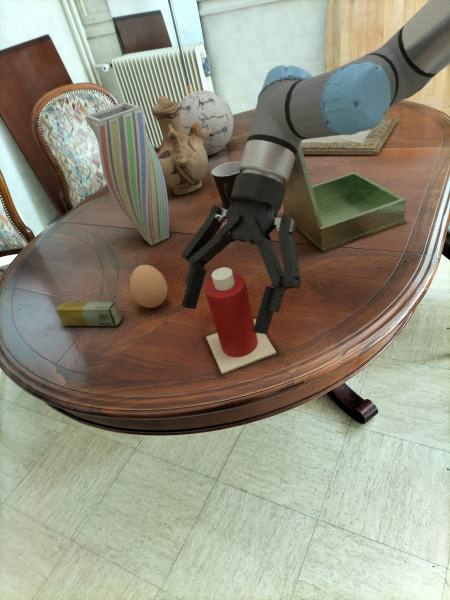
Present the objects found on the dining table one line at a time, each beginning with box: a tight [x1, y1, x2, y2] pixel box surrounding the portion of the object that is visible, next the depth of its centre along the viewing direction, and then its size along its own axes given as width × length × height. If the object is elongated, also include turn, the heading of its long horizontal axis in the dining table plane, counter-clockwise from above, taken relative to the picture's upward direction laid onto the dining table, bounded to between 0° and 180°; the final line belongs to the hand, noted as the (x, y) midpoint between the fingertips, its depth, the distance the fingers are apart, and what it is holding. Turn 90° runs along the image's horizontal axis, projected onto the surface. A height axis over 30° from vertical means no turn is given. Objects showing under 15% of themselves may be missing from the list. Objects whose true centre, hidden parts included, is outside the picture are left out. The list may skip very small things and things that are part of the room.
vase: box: [84, 101, 170, 246], centre depth 94 cm, size 14×14×30 cm
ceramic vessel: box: [151, 95, 212, 196], centre depth 116 cm, size 18×19×25 cm
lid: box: [252, 110, 322, 227], centre depth 81 cm, size 19×19×1 cm
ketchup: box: [204, 266, 258, 357], centre depth 63 cm, size 6×6×14 cm
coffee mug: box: [211, 161, 241, 210], centre depth 104 cm, size 12×9×10 cm
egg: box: [129, 264, 168, 309], centre depth 78 cm, size 7×7×9 cm
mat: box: [205, 318, 277, 375], centre depth 67 cm, size 9×9×1 cm
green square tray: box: [282, 171, 406, 253], centre depth 90 cm, size 19×19×5 cm
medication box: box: [55, 301, 123, 327], centre depth 79 cm, size 12×3×4 cm, turn 78°
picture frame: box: [300, 116, 398, 156], centre depth 130 cm, size 27×30×3 cm
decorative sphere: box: [178, 89, 235, 157], centre depth 138 cm, size 20×20×20 cm
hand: (221, 319), depth 62 cm, fingers open, 13 cm apart
